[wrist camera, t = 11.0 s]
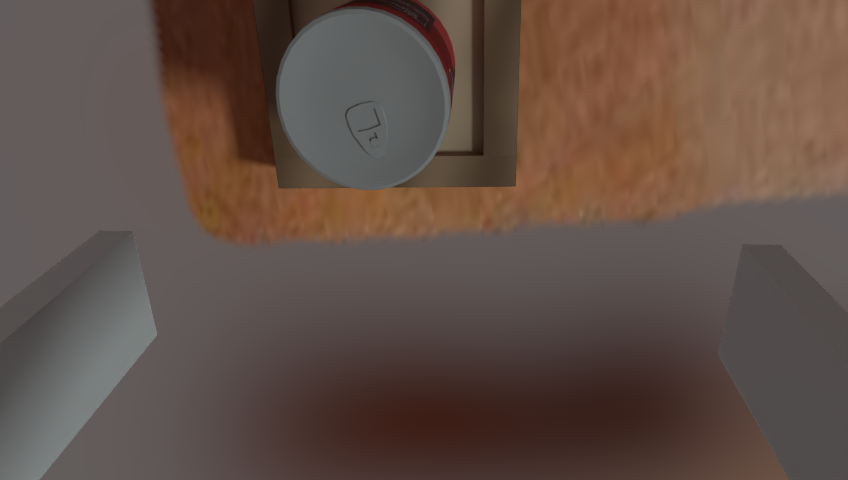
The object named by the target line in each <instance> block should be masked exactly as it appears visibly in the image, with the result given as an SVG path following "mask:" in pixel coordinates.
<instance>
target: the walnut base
mask: <svg viewBox="0 0 848 480" xmlns="http://www.w3.org/2000/svg"><path fill="white" fill-rule="evenodd" d="M350 1H353V0H253V6H254V13H255V20H256V27H257V35H258V42H259V49H260V56H261V64H262V71H263V78H264V85H265V93H266V100H267V107H268V114H269V122H270V129H271V136H272V143H273V150H274V158H275V165H276V172H277V179H278V187H279V188H350V187H346V186H343V185H340V184H338V183H335V182H333V181H331V180H328V179H327V178H325V177H324V176H322V175H321V174H319V173H318V172H316V171H314V170H313V169H312V168H311V167H310V166H309V165H308V164H307V163H306V162H305V161H304V160H303V159H302V158H301V157H300V156H299V154H298V153H297V152H296V150H295V149H294V148H293V147H292V145H291V143H290V141H289V140H288V138H287V136H286V134H285V132H284V130H283V127H282V124H281V121H280V118H279V114H278V109H277V101H276V81H277V75H278V71H279V67H280V63H281V60H282V58H283V56H284V54H285V52H286V50H287V48H288V46H289V44H290V43H291V42H292V40H293V39H294V38H295V37H296V35H297V34H298V33H299V32H300V30H301V29H302V28H303V27H305V26H306V25H307V24H308V23H310V22H311V21H312V20H313V19H315V18H316V17H318V16H320V15H321V14H323V13H325V12H328V11H330V10H332V9H334V8H336V7H338V6H341V5H343V4H346V3H348V2H350ZM417 1H419V2H420V3H422V4H423V5H425V6H426V7H427V8H429V9H430V10H431V11H432V12H433V13H434V14H435V15H436V17H437V18H438V19H439V20H440V21H441V23H442V25H443V26H444V28H445V29H446V31H447V33H448V35H449V38H450V41H451V43H452V46H453V51H454V56H455V80H454V90H453V100H452V108H451V114H450V119H449V124H448V129H447V132H446V134H445V137H444V139H443V142H442V144H441V146H440V148H439V149H438V151H437V152H436V154H435V155H434V157H433V158H432V160H431V161H430V162H429V163H428V164H427V165H426V166H425V168H424V169H423V170H422V171H421V172H420V173H418V174H417V175H415V176H414V177H412V178H411V179H409V180H407V181H406V182H403V183H401V184H398V185H396V186H393V187H506V186H516V159H517V125H518V91H519V57H520V23H521V0H417Z"/></svg>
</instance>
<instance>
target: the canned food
mask: <svg viewBox="0 0 848 480" xmlns="http://www.w3.org/2000/svg"><path fill="white" fill-rule="evenodd" d="M454 80H455V56H454V51H453V46H452V43H451V41H450V38H449V35H448V33H447V31H446V29H445V28H444V26H443V25H442V23H441V21H440V20H439V19H438V18H437V17H436V15H435V14H434V13H433V12H432V11H431V10H430V9H429V8H427V7H426V6H425V5H423V4H422V3H420V2H419V1H417V0H353V1H350V2H348V3H346V4H343V5H341V6H338V7H336V8H334V9H332V10H330V11H328V12H325V13H323V14H321V15H320V16H318V17H316V18H315V19H313V20H312V21H311V22H310V23H308V24H307V25H306V26H305V27H303V28H302V29H301V30H300V32H299V33H298V34H297V35H296V37H295V38H294V39H293V40H292V42H291V43H290V44H289V46H288V48H287V50H286V52H285V54H284V56H283V58H282V60H281V63H280V67H279V71H278V75H277V81H276V101H277V109H278V114H279V118H280V121H281V124H282V127H283V130H284V132H285V134H286V136H287V138H288V140H289V141H290V143H291V145H292V147H293V148H294V149H295V150H296V152H297V153H298V154H299V156H300V157H301V158H302V159H303V160H304V161H305V162H306V163H307V164H308V165H309V166H310V167H311V168H312V169H313V170H314V171H316V172H318V173H319V174H321V175H322V176H324V177H325V178H327V179H328V180H331V181H333V182H335V183H338V184H340V185H343V186H346V187H350V188H355V189H360V190H378V189H384V188H390V187H393V186H396V185H398V184H401V183H403V182H406V181H407V180H409V179H411V178H412V177H414V176H415V175H417V174H418V173H420V172H421V171H422V170H423V169H424V168H425V166H426V165H427V164H428V163H429V162H430V161H431V160H432V158H433V157H434V155H435V154H436V152H437V151H438V149H439V148H440V146H441V144H442V142H443V139H444V137H445V134H446V132H447V129H448V124H449V119H450V114H451V108H452V100H453V90H454Z"/></svg>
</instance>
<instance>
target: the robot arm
mask: <svg viewBox="0 0 848 480" xmlns="http://www.w3.org/2000/svg"><path fill="white" fill-rule="evenodd" d="M156 336H157V332H156V328H155V324H154V319H153V315H152V311H151V308H150V303H149V299H148V294H147V290H146V286H145V281H144V277H143V273H142V269H141V265H140V260H139V256H138V252H137V248H136V244H135V239H134V235H133V232H132V231H99V232H98V233H96V234H95V235H94V236H92V237H91V238H90V239H89V240H87V241H86V242H85V243H83V244H82V245H81V246H79V247H78V248H77V249H76V250H74V251H73V252H72V253H70V254H69V255H68V256H66V257H65V258H64V259H62V260H61V261H60V262H59V263H57V264H56V265H55V266H53V267H52V268H51V269H49V270H48V271H47V272H46V273H44V274H43V275H42V276H40V277H39V278H38V279H37V280H35V281H34V282H33V283H31V284H30V285H29V286H27V287H26V288H25V289H24V290H22V291H21V292H20V293H18V294H17V295H16V296H14V297H13V298H12V299H11V300H9V301H8V302H7V303H5V304H4V305H3V306H2V307H0V480H40V478H41V477H42V476H43V475H44V473H45V472H46V471H47V470H48V468H49V467H50V466H51V465H52V464H53V462H54V461H55V460H56V459H57V457H58V456H59V455H60V454H61V452H62V451H63V450H64V449H65V448H66V446H67V445H68V444H69V443H70V441H71V440H72V439H73V438H74V437H75V435H76V434H77V433H78V432H79V430H80V429H81V428H82V427H83V425H84V424H85V423H86V422H87V420H88V419H89V418H90V417H91V416H92V414H93V413H94V412H95V411H96V409H97V408H98V407H99V406H100V404H101V403H102V402H103V401H104V400H105V398H106V397H107V396H108V395H109V393H110V392H111V391H112V390H113V389H114V387H115V386H116V385H117V384H118V382H119V381H120V380H121V379H122V377H123V376H124V375H125V373H127V371H128V370H129V369H130V367H131V366H132V365H133V364H134V362H135V361H136V360H137V359H138V358H139V357H140V355H141V354H142V353H143V352H144V350H145V349H146V348H147V347H148V345H149V344H150V343H151V342H152V341H153V339H154V338H155V337H156ZM718 356H719V357H720V359H721V361H722V363H723V364H724V366H725V368H726V369H727V371H728V373H729V375H730V377H731V378H732V380H733V382H734V384H735V385H736V387H737V389H738V391H739V392H740V394H741V396H742V398H743V399H744V401H745V403H746V405H747V406H748V408H749V410H750V412H751V413H752V415H753V417H754V419H755V420H756V422H757V424H758V426H759V427H760V429H761V431H762V433H763V434H764V436H765V438H766V440H767V441H768V443H769V445H770V446H771V448H772V450H773V452H774V454H775V455H776V457H777V459H778V461H779V462H780V464H781V466H782V467H783V469H784V471H785V473H786V475H787V476H788V478H789V480H848V313H847V312H846V311H845V310H844V309H843V308H842V307H841V306H840V305H839V304H838V303H837V302H836V301H835V299H833V297H832V296H831V295H830V294H829V293H828V292H827V291H826V290H825V289H824V288H822V286H821V285H820V284H819V283H818V282H817V281H816V280H815V279H814V278H813V277H812V276H811V275H810V274H809V273H808V272H807V271H806V270H805V269H804V268H803V267H802V266H801V265H800V264H799V263H798V262H797V261H796V260H795V259H794V258H793V257H792V256H791V255H790V254H789V253H788V252H787V251H786V250H785V249H784V248H783V246H781V245H747V244H743V245H742V250H741V254H740V259H739V263H738V267H737V272H736V276H735V281H734V285H733V289H732V294H731V298H730V303H729V307H728V311H727V316H726V320H725V325H724V329H723V333H722V338H721V342H720V346H719V351H718Z"/></svg>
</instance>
